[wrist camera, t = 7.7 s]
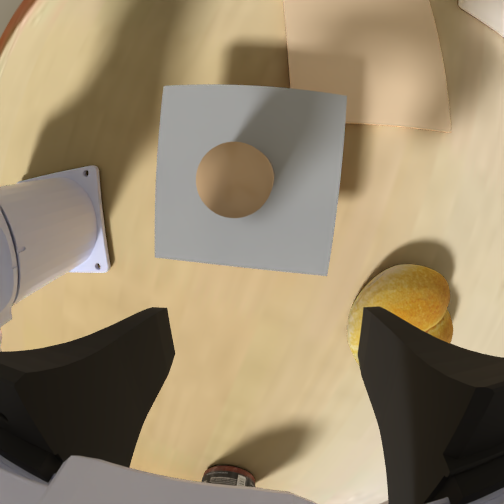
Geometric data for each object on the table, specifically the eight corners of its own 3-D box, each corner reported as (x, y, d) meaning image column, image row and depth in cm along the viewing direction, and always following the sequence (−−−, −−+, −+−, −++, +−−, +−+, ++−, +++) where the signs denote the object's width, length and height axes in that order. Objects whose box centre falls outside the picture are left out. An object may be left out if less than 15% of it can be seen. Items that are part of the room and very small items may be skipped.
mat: (292, 122, 18) (292, 121, 17) (280, -17, 15) (280, -21, 14) (448, 132, 17) (451, 132, 16) (425, 0, 14) (428, -3, 13)
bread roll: (435, 245, 19) (462, 261, 15) (445, 343, 21) (465, 369, 17) (330, 282, 21) (340, 308, 17) (356, 377, 23) (365, 410, 19)
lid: (160, 253, 17) (124, 281, 12) (169, 89, 14) (132, 67, 10) (324, 270, 16) (338, 307, 12) (343, 99, 14) (366, 76, 9)
